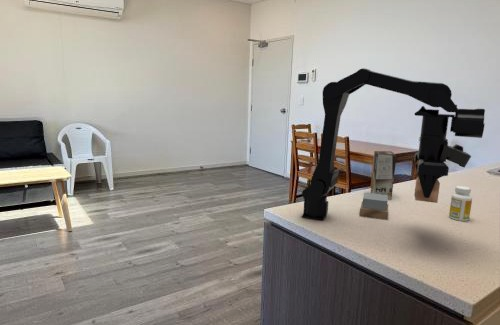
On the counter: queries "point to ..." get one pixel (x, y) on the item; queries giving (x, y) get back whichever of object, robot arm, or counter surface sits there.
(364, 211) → the walnut base slab
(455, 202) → the supplement bottle
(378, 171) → the coffee box
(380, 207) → the slate top slab
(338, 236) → the counter surface
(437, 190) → the terracotta cube
